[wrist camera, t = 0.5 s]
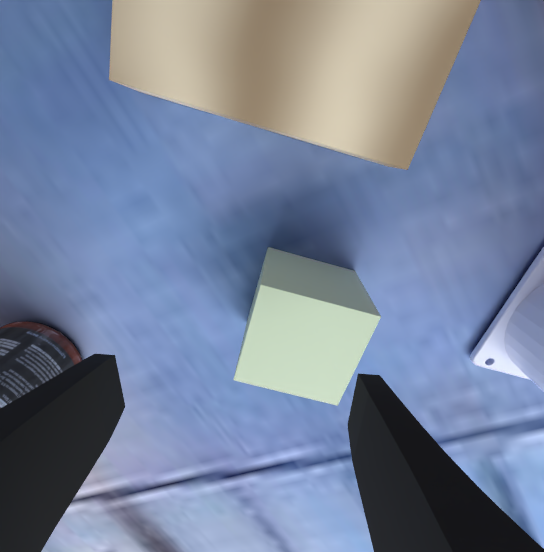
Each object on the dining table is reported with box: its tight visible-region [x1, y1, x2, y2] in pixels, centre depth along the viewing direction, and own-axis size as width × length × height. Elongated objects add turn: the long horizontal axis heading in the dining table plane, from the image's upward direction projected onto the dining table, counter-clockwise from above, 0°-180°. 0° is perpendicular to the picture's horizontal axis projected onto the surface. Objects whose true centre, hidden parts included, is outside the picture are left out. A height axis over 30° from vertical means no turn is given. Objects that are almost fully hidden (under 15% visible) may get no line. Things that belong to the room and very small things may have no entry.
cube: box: [234, 247, 381, 406], centre depth 15 cm, size 5×5×5 cm
